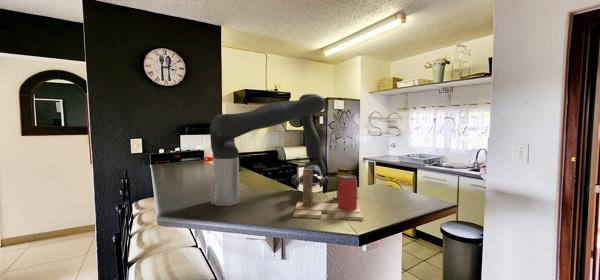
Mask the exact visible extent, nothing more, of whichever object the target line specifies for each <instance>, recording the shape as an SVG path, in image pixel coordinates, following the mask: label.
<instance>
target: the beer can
mask: <svg viewBox="0 0 600 280" xmlns="http://www.w3.org/2000/svg"><path fill="white" fill-rule="evenodd" d="M357 197H358V179H357V176H356V175H353V174H351V175H341V176H340V179H339V182H338V199H337V204H338V208H339V209H342V210H347V211H351V210H356V209H357V205H358V198H357Z"/></svg>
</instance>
